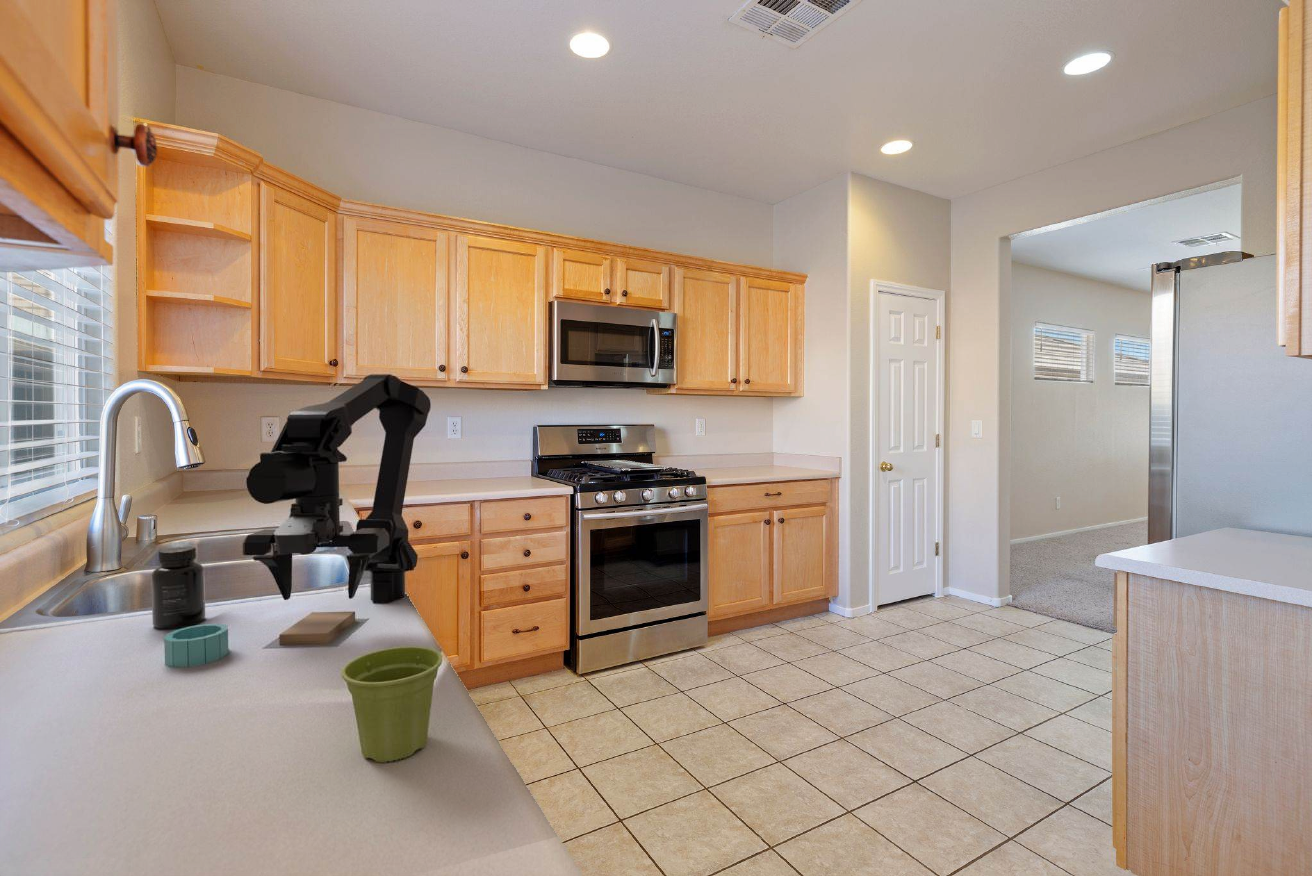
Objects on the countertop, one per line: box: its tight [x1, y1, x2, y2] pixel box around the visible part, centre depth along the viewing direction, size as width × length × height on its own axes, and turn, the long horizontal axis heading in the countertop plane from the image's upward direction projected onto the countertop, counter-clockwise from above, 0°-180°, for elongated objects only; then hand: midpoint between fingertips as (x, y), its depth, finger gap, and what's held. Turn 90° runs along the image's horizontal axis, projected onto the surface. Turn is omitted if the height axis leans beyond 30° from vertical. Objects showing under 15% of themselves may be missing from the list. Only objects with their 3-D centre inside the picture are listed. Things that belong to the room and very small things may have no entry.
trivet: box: [262, 618, 369, 649], centre depth 93 cm, size 12×10×1 cm
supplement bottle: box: [150, 546, 206, 630], centre depth 101 cm, size 7×7×12 cm
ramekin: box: [163, 623, 229, 668], centre depth 84 cm, size 7×7×4 cm
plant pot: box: [340, 645, 443, 763], centre depth 63 cm, size 9×9×9 cm
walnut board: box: [278, 610, 356, 645], centre depth 93 cm, size 10×6×2 cm, turn 5°
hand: (319, 598), depth 93 cm, fingers open, 9 cm apart
